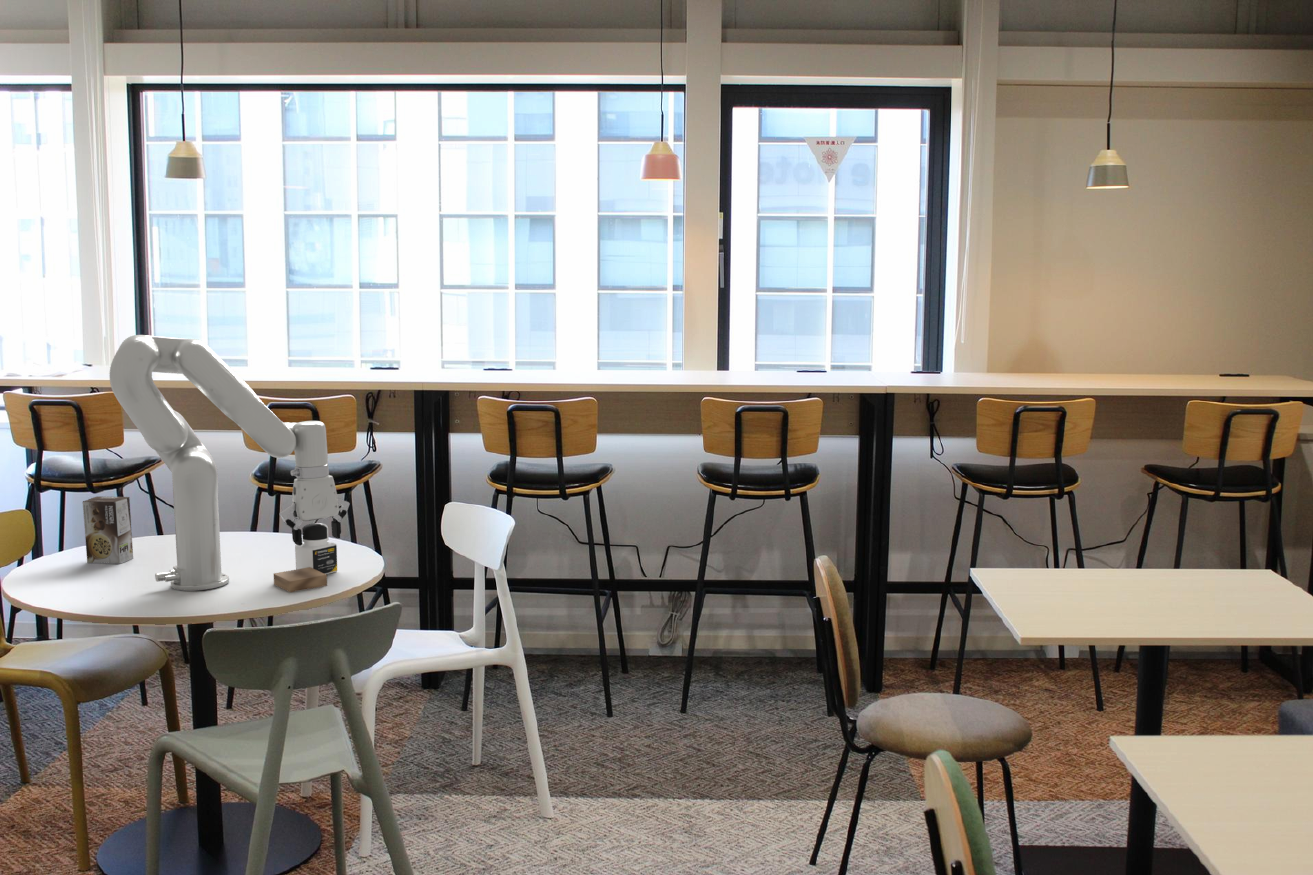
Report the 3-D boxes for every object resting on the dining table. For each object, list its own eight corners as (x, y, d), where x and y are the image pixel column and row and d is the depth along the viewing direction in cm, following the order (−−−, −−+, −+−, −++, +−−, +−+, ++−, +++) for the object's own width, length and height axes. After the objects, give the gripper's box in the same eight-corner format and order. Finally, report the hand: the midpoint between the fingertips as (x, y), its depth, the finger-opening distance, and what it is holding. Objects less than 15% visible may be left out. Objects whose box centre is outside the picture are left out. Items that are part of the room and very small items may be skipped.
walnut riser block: (290, 594, 248) (289, 581, 247) (274, 585, 254) (273, 573, 254) (327, 587, 254) (326, 574, 253) (310, 579, 260) (310, 567, 260)
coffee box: (134, 558, 277) (131, 496, 275) (119, 564, 271) (116, 501, 269) (101, 557, 278) (97, 495, 276) (85, 563, 272) (81, 500, 270)
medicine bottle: (313, 577, 260) (312, 529, 259) (295, 573, 264) (293, 525, 263) (338, 571, 266) (336, 524, 264) (319, 567, 270) (318, 520, 268)
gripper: (283, 479, 253) (289, 550, 255) (352, 469, 264) (357, 537, 267) (271, 475, 259) (276, 544, 261) (339, 465, 270) (344, 532, 272)
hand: (317, 540), depth 264 cm, fingers open, 9 cm apart
